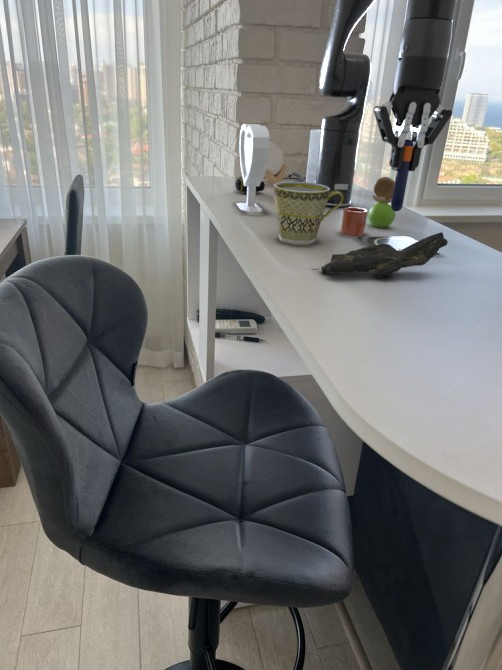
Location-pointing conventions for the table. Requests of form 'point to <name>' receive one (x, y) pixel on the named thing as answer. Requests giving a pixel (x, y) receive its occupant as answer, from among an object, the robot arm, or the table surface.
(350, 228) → the pen pot
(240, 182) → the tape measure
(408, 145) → the marker
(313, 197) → the ceramic cup
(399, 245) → the shiny silver plate
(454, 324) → the table surface
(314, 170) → the cosmetic box
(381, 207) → the snail figurine
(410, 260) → the dark brown elongated chunk
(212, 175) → the table surface
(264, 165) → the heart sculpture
